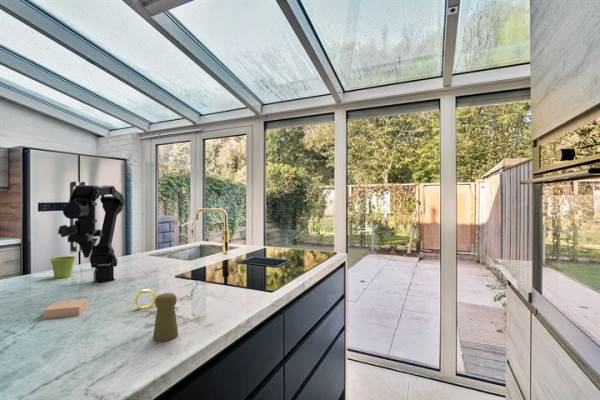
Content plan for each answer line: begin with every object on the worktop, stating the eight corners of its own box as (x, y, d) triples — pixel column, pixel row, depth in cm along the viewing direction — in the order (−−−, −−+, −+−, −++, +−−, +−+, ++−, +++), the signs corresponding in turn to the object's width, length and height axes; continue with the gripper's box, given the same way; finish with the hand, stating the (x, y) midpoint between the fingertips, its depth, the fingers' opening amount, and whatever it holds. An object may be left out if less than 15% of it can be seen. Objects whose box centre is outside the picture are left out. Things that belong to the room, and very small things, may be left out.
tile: (56, 301, 99) (43, 310, 91) (88, 298, 102) (79, 306, 94) (56, 310, 99) (43, 320, 91) (88, 307, 102) (79, 316, 94)
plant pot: (80, 275, 144) (80, 256, 144) (59, 280, 135) (59, 260, 135) (66, 273, 147) (66, 255, 147) (44, 278, 138) (44, 259, 138)
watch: (153, 305, 104) (155, 287, 104) (155, 307, 102) (157, 289, 102) (134, 308, 100) (135, 289, 101) (135, 310, 98) (137, 291, 98)
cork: (158, 331, 83) (158, 291, 83) (181, 331, 83) (181, 290, 83) (149, 342, 77) (149, 298, 77) (173, 341, 77) (174, 297, 77)
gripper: (71, 216, 125) (71, 254, 125) (50, 219, 108) (50, 263, 108) (102, 216, 129) (102, 253, 129) (87, 218, 111) (87, 261, 111)
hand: (86, 257), depth 119 cm, fingers closed
